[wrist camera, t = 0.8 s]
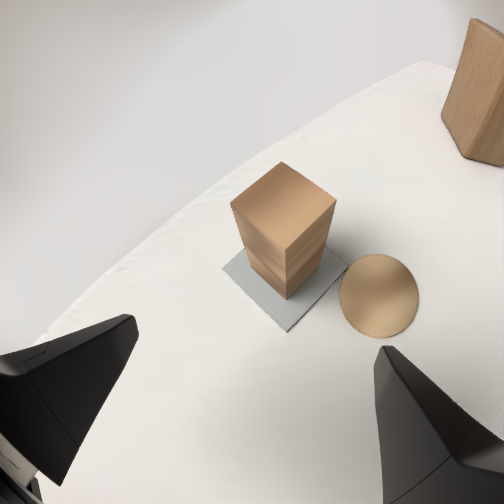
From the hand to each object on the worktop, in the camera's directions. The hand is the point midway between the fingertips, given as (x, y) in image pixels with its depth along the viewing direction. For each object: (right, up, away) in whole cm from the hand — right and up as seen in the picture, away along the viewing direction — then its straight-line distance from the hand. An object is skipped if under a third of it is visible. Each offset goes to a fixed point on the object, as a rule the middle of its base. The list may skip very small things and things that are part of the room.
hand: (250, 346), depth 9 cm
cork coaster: (+11, -1, +13) cm, 17 cm away
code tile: (+3, +2, +15) cm, 16 cm away
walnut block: (+3, +2, +15) cm, 15 cm away
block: (+34, +20, +20) cm, 45 cm away
